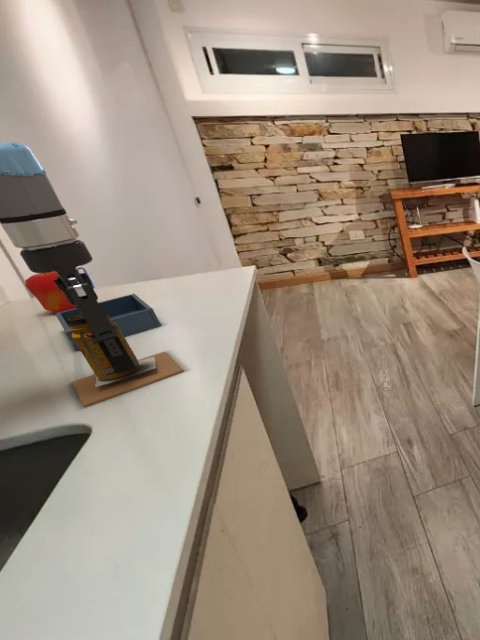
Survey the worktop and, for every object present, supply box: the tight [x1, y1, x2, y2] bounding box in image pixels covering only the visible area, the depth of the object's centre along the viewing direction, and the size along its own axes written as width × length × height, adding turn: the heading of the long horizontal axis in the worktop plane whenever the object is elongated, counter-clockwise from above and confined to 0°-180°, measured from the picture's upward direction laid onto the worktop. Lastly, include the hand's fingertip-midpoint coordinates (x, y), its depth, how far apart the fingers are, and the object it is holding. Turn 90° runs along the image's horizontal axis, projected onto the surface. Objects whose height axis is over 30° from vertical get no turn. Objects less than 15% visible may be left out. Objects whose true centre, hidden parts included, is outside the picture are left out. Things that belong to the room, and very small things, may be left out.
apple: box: [24, 271, 76, 314], centre depth 125 cm, size 9×8×12 cm
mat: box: [71, 350, 185, 408], centre depth 89 cm, size 14×14×1 cm
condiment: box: [66, 310, 156, 387], centre depth 86 cm, size 7×8×12 cm
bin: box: [54, 293, 162, 352], centre depth 112 cm, size 15×20×4 cm
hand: (122, 365), depth 88 cm, fingers closed on condiment, 6 cm apart
